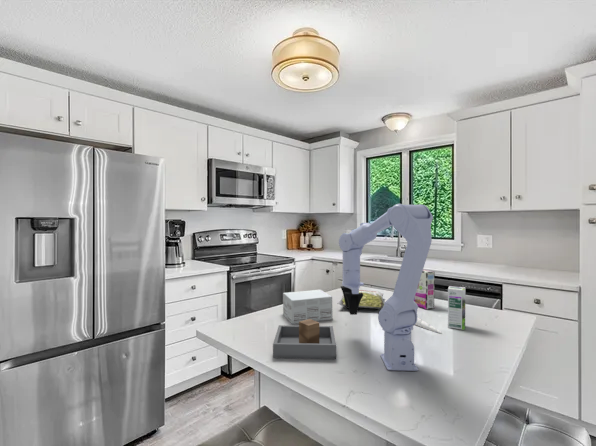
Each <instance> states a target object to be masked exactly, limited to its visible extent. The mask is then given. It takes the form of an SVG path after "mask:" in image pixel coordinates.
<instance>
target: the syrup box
mask: <svg viewBox="0 0 596 446" xmlns="http://www.w3.org/2000/svg"><path fill="white" fill-rule="evenodd" d="M447 328H448V329H453V330H454V329H456V330H462V331H465V330H466V287H465V286H464V287H462V286H452V285H449V286H448V288H447Z"/></svg>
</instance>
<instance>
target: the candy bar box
mask: <svg viewBox="0 0 596 446" xmlns="http://www.w3.org/2000/svg"><path fill="white" fill-rule="evenodd" d="M435 276H436V275H435V271H433V270H428V269H423V271H422V274H421V278H420V281H419V284H418V287H417V291H416V294H415V297H414V301H415V303H416V304H417V305H418V308H420V309H422V310H423V309H424V310H433V309H435V279H436V277H435Z"/></svg>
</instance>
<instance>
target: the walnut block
mask: <svg viewBox="0 0 596 446" xmlns="http://www.w3.org/2000/svg"><path fill="white" fill-rule="evenodd" d="M298 326H299V343H317V344H319V326H320V322H319V321H314V320H312V319H308V320H304V321H300V322H299V323H298Z"/></svg>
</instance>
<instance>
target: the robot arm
mask: <svg viewBox="0 0 596 446" xmlns="http://www.w3.org/2000/svg"><path fill="white" fill-rule="evenodd" d="M433 220H434V216H433V214H432V212H431V210H430V209H429V208H428V206H427V205H425V204H421V203H419V204H418V203H417V204H403V203H397V204H394V205H393V206H391V207H389V208H387V211H386V212H384V213H383V214H381V215H380V216H379V217H378V218H377V219H375V220H374V221H373V222H371V223H369V222H361V223H360V224H359V226H358V227H357V228H355V229H351V231H350V232H349V233H347V232H343V233H341V235H340V236H339V239H338V246H339V248H340V249H341V251H342V283H341V286H340V289H341V291H342V296H343V295H344V300H345V305H346V306H345V308H347V309H348V310H349V314H350V315H352V316H353V315H358V312H359V308H360V307H359V303H360V301H361V299H362V297H363V293H359V290H360V288H361V287H362V286H364V285H365V283H364V282H363V281H361V256H362V253H363V249H364V247H365V245H367V244H368V243H370V242H372V241H374V240H376V238H377V236H378V233H380V232H382V231H385V230H387V229H388V228H390V227H393V228H394V229H395V230H396V231H397V232H398V233H399V234H400V235H401V237H402V238H403V239H405V241H406V248H405V249H404V250H405V251H404V255H403V258H402V261H401V264H400V269H399V272H398V274H397V279H396V282H395V286H394V288H393V292H392V295H391V296H390V297H389V298H388V299H387V300H386V301H385V302H383V303H384V306H383V308H382V309H379V312H378V314H377V315H378V316H377V320H378V323H379V325H380V328H382V331H383V333H384V334H383V341H384V342H383V349H384V351H383V353H380V357H381V359H382V361H383V364H384V366H385V368H386V370H388V371H409V372H410V371H411V372H413V371H415V372H416V371H417V372H418V371H419V368H418V366H416V364H415V346H414V345H415V344H414V343H413V341H412V331H413V330H414V326H416V325H415V324H416V322H417V317H418V308H419V307H418V305H417V304H416V303H415V301H414V297H415V294H416V291H417V287H418V284H419V281H420V278H421V274H422V271H423V270H424V268H425V265H426V261H427V257H428V255H429V251H430V248H431V245H432V242H433V241H432V227H431V226H432V222H433Z"/></svg>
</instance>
